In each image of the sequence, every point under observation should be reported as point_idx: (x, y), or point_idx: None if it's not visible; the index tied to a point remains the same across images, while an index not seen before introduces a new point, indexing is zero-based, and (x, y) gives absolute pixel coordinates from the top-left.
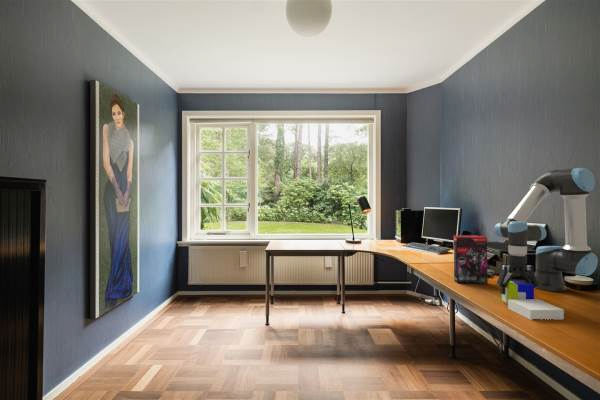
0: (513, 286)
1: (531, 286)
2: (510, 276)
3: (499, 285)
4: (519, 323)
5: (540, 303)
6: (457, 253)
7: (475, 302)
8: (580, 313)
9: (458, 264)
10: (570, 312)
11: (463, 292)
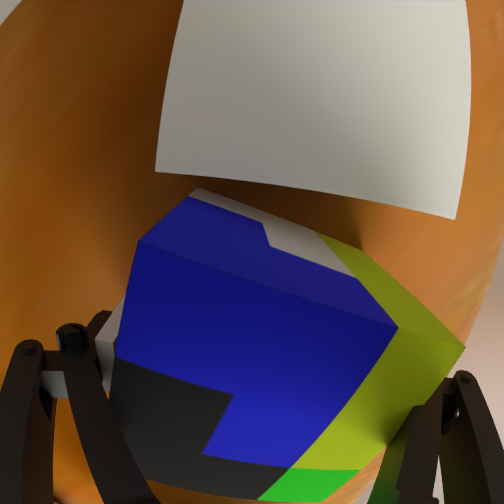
0: (426, 324)
1: (187, 251)
2: (429, 476)
3: (471, 377)
4: (494, 17)
5: (264, 40)
6: None
7: (469, 332)
8: (11, 62)
9: None
10: (40, 72)
11: (373, 458)
